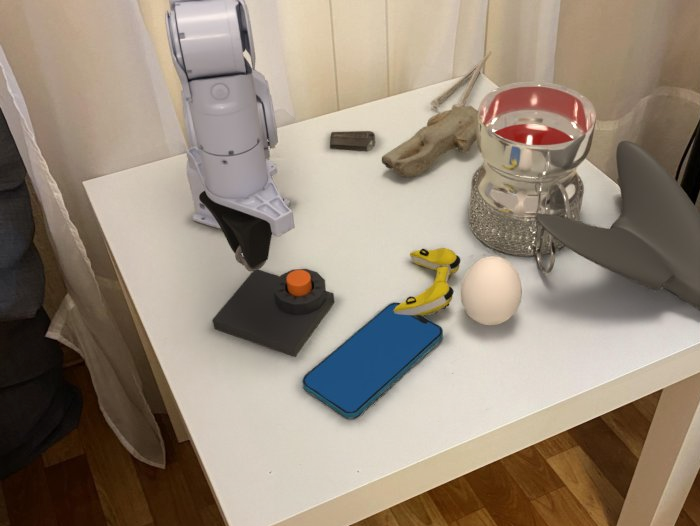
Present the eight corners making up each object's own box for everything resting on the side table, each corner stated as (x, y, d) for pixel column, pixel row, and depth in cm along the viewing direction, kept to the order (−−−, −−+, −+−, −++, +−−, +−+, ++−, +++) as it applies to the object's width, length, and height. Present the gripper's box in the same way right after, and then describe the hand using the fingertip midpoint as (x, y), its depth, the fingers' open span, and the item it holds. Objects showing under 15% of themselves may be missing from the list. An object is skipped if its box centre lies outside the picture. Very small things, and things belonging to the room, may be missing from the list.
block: (332, 141, 115) (330, 128, 114) (376, 138, 115) (375, 125, 114) (330, 153, 113) (328, 140, 112) (374, 150, 112) (373, 138, 111)
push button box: (214, 329, 91) (209, 309, 89) (260, 273, 97) (256, 253, 95) (295, 356, 89) (292, 336, 86) (337, 297, 94) (335, 277, 92)
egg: (447, 320, 91) (450, 264, 85) (482, 289, 94) (487, 233, 88) (495, 347, 89) (501, 292, 83) (529, 314, 92) (538, 259, 86)
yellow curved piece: (370, 306, 97) (417, 339, 90) (359, 283, 95) (406, 315, 88) (437, 256, 99) (488, 285, 92) (427, 233, 97) (479, 260, 90)
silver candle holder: (528, 175, 108) (542, 68, 97) (630, 250, 98) (658, 141, 87) (447, 212, 103) (452, 104, 92) (545, 295, 94) (564, 185, 83)
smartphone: (297, 381, 85) (394, 299, 92) (298, 387, 86) (394, 305, 93) (351, 417, 82) (447, 330, 89) (352, 423, 83) (447, 336, 90)
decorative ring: (247, 276, 85) (243, 253, 83) (236, 267, 86) (232, 244, 84) (270, 264, 86) (266, 241, 84) (259, 255, 87) (255, 232, 85)
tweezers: (428, 99, 117) (428, 112, 119) (460, 106, 116) (460, 119, 117) (476, 39, 127) (475, 52, 128) (506, 45, 125) (505, 58, 127)
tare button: (283, 292, 91) (281, 281, 90) (295, 277, 93) (293, 267, 91) (304, 299, 90) (303, 288, 89) (316, 284, 92) (314, 273, 91)
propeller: (756, 307, 100) (815, 255, 95) (697, 379, 81) (766, 318, 76) (615, 178, 104) (663, 120, 99) (527, 217, 85) (581, 149, 80)
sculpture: (413, 199, 107) (494, 143, 112) (410, 168, 103) (494, 111, 109) (375, 177, 110) (456, 124, 116) (371, 146, 107) (454, 93, 112)
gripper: (315, 154, 73) (327, 273, 83) (221, 89, 80) (242, 206, 90) (248, 188, 70) (268, 307, 80) (156, 117, 77) (186, 234, 87)
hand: (251, 255), depth 85 cm, fingers closed on decorative ring, 2 cm apart
